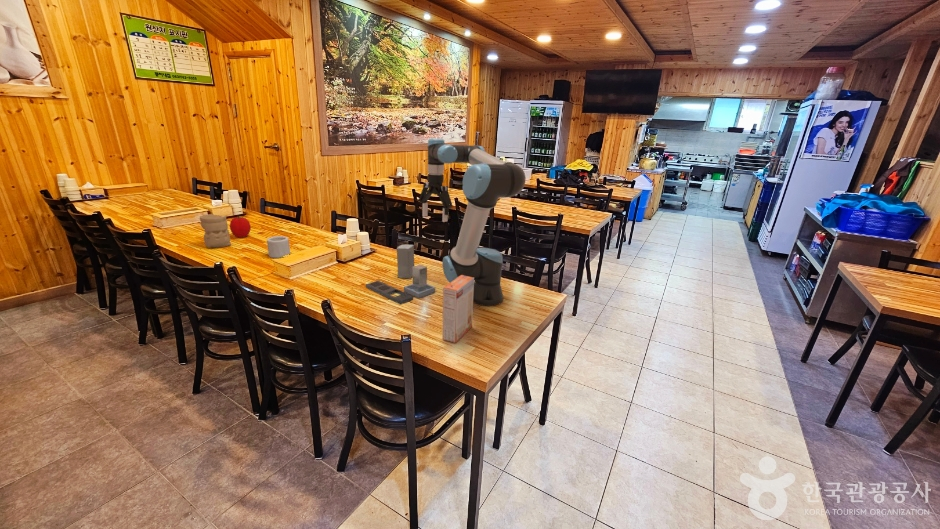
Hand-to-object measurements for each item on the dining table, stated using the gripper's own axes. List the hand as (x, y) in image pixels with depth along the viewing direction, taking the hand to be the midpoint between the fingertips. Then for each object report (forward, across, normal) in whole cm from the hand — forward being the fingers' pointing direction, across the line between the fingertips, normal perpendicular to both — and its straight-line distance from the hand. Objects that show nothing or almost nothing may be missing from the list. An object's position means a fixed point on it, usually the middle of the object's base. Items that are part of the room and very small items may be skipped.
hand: (434, 218), depth 178 cm
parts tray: (+31, -8, +17) cm, 36 cm away
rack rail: (+31, 0, +28) cm, 42 cm away
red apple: (+31, +133, +41) cm, 143 cm away
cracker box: (+31, -45, +32) cm, 63 cm away
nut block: (+30, -8, +17) cm, 36 cm away
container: (+31, +121, +58) cm, 138 cm away
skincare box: (+31, +12, +8) cm, 34 cm away
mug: (+31, +84, +40) cm, 98 cm away
